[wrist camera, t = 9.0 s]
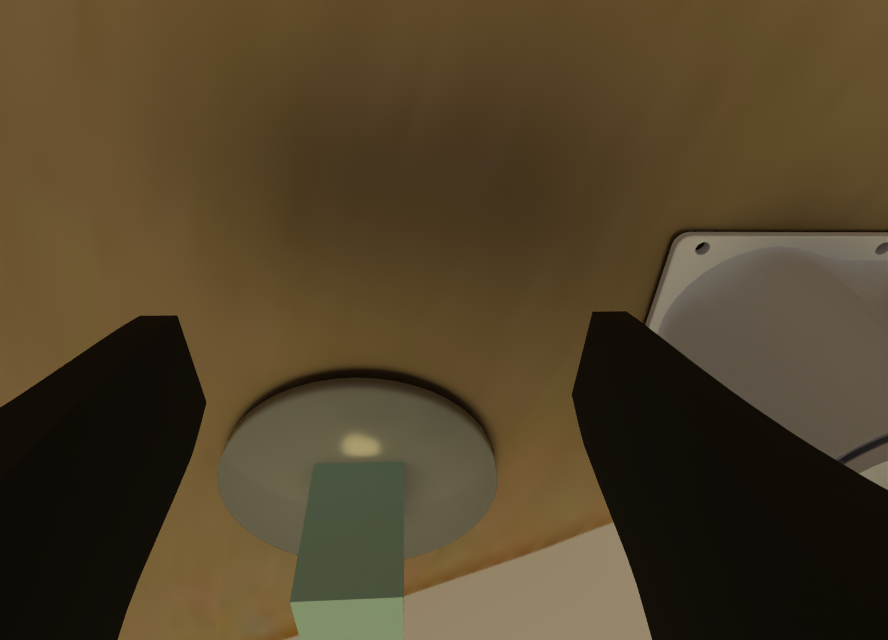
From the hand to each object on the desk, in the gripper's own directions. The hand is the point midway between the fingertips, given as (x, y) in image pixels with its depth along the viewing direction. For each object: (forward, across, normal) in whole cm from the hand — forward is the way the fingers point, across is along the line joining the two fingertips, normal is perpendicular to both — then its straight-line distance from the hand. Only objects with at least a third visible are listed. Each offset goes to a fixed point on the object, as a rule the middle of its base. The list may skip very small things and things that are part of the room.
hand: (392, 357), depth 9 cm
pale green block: (+8, +2, +15) cm, 17 cm away
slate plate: (+9, +2, +15) cm, 18 cm away
